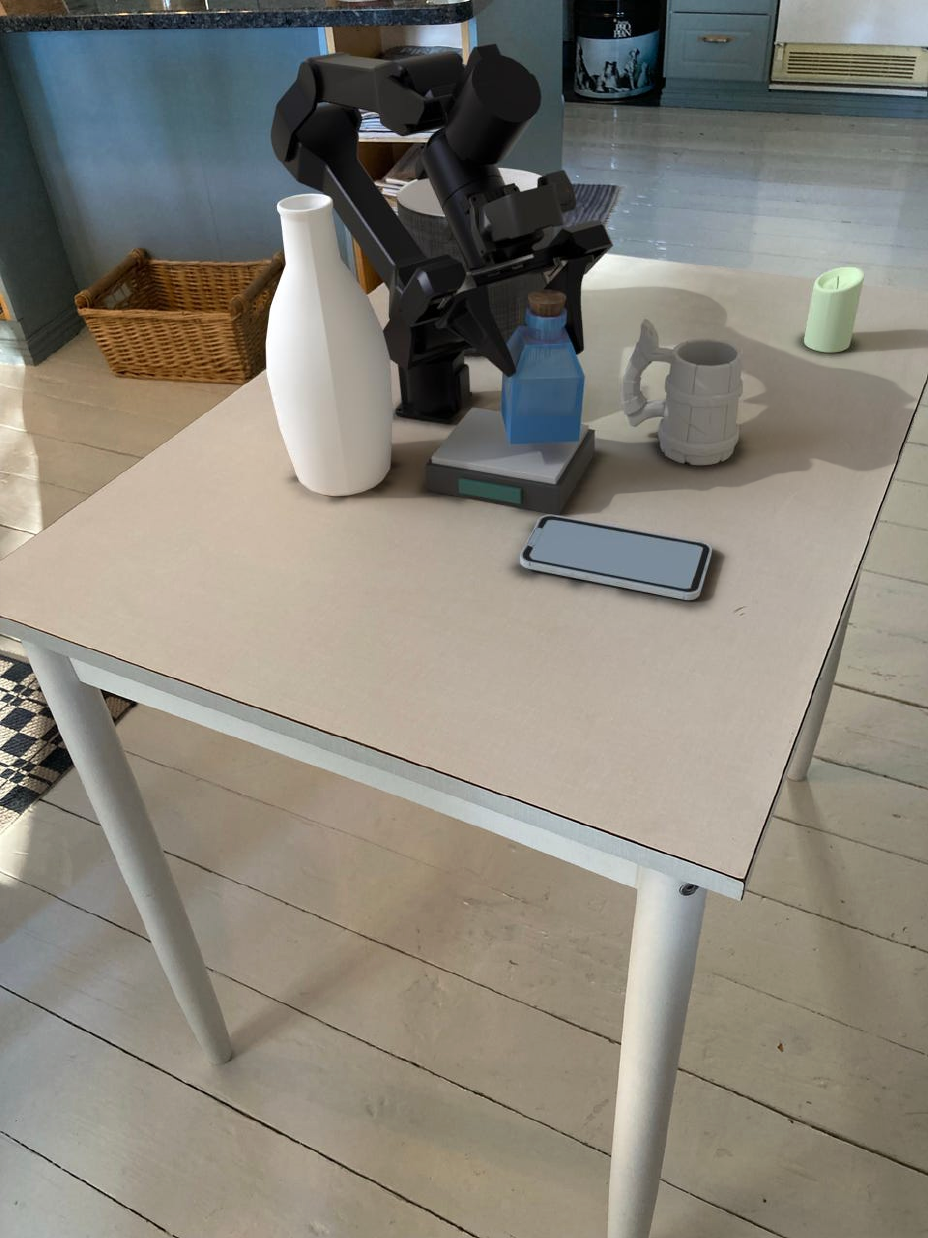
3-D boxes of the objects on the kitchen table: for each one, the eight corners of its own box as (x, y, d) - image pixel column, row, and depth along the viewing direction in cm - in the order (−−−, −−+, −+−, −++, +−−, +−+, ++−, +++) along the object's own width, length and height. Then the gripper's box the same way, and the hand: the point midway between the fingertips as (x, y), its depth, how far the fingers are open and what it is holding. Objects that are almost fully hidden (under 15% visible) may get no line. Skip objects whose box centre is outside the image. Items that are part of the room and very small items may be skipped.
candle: (817, 355, 111) (830, 283, 106) (795, 337, 115) (807, 267, 109) (858, 349, 112) (873, 277, 106) (835, 331, 115) (849, 261, 110)
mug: (726, 474, 93) (742, 353, 85) (605, 451, 97) (611, 334, 90) (745, 435, 98) (762, 319, 91) (630, 415, 102) (637, 302, 95)
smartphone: (698, 596, 78) (516, 560, 82) (697, 605, 79) (516, 569, 83) (714, 543, 83) (542, 512, 88) (712, 552, 84) (542, 521, 88)
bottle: (421, 455, 98) (397, 186, 82) (366, 514, 91) (328, 230, 75) (324, 435, 102) (284, 176, 86) (264, 491, 95) (207, 217, 78)
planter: (518, 366, 112) (516, 224, 102) (381, 343, 119) (367, 207, 109) (574, 306, 125) (577, 174, 114) (447, 288, 131) (440, 162, 121)
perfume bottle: (579, 441, 88) (591, 309, 81) (509, 444, 88) (515, 312, 80) (566, 408, 93) (576, 281, 85) (500, 411, 92) (505, 283, 85)
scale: (425, 493, 93) (422, 460, 91) (470, 435, 101) (469, 403, 99) (557, 517, 89) (558, 484, 87) (594, 454, 97) (595, 422, 95)
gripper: (405, 162, 74) (489, 354, 74) (605, 117, 81) (682, 293, 81) (367, 239, 84) (441, 408, 84) (547, 193, 91) (616, 349, 91)
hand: (546, 363), depth 85 cm, fingers closed on perfume bottle, 7 cm apart
